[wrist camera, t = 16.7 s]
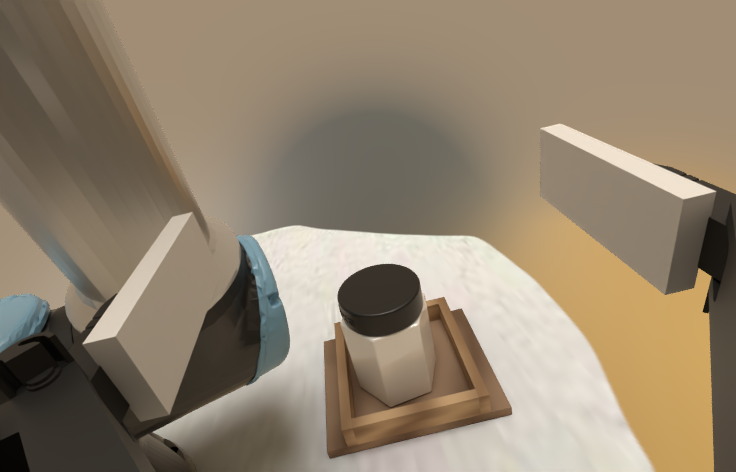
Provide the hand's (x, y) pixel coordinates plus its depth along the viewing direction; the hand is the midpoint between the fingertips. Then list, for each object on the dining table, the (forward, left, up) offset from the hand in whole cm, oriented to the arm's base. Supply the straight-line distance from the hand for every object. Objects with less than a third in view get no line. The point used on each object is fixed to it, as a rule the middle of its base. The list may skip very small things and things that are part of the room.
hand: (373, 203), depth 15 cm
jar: (-1, +18, -29) cm, 34 cm away
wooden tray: (0, +18, -30) cm, 35 cm away
